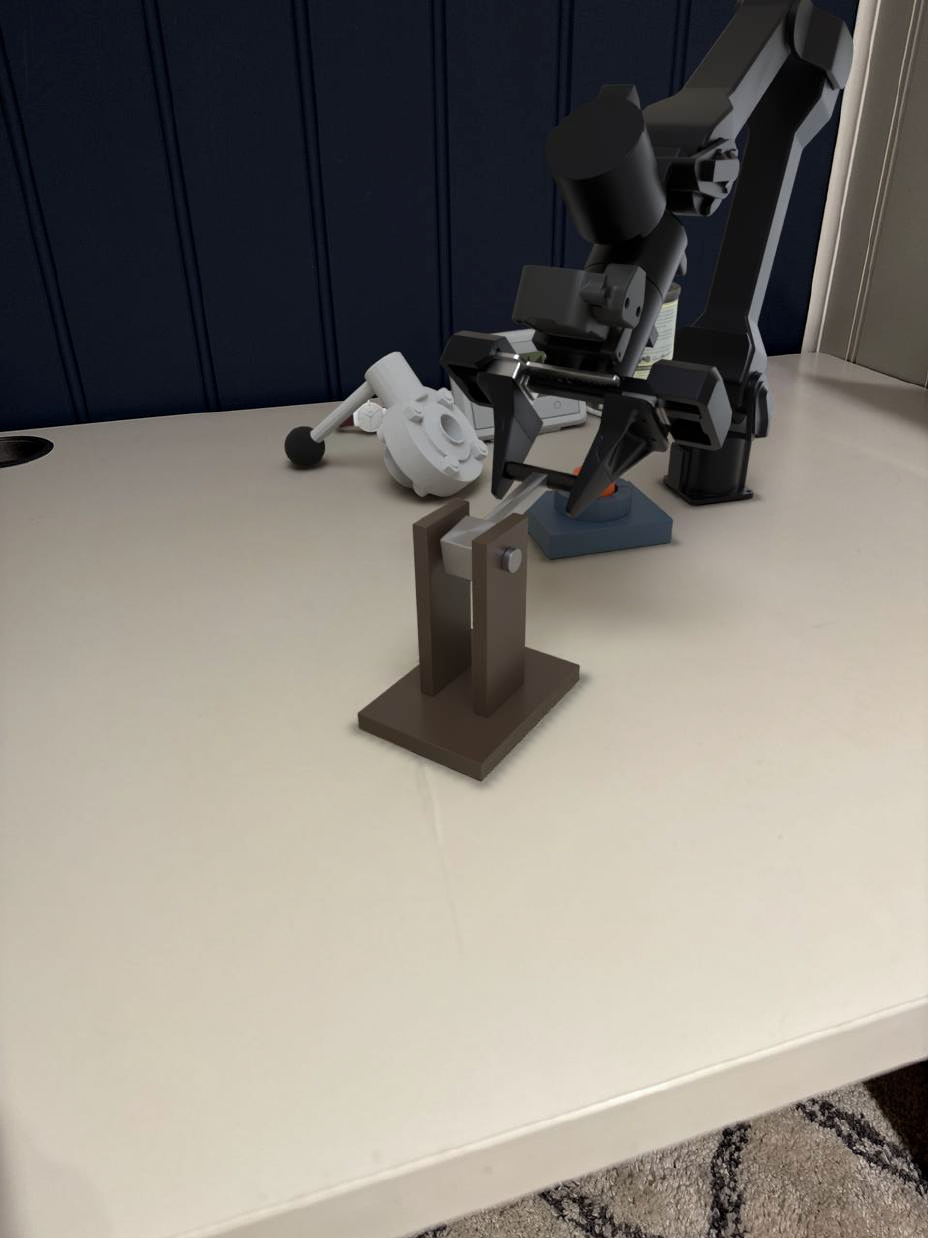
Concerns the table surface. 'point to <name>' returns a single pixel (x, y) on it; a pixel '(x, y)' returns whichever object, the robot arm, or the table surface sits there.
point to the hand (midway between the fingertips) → (531, 505)
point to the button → (607, 492)
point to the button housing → (598, 523)
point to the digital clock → (547, 407)
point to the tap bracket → (470, 653)
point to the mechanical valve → (405, 431)
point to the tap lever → (500, 513)
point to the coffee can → (663, 344)
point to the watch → (366, 417)
